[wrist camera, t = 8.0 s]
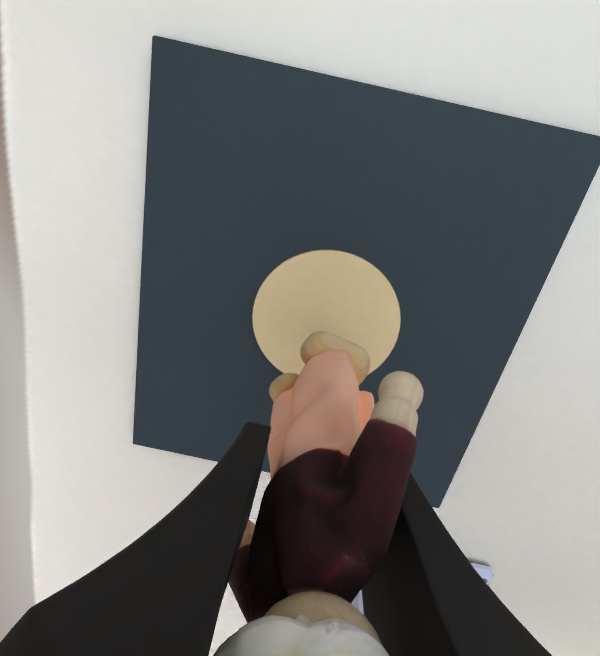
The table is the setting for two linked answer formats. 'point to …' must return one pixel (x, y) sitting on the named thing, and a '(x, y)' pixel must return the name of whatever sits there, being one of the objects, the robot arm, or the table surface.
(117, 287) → the table surface
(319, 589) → the grandmother figurine
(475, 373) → the display mat
